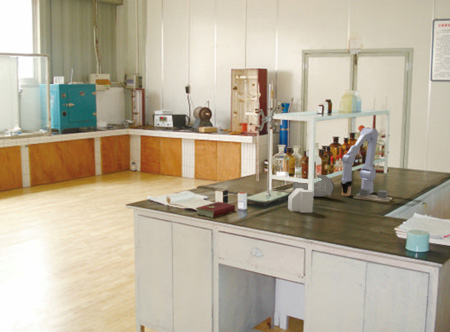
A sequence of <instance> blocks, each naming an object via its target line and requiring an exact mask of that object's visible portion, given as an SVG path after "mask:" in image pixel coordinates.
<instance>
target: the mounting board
mask: <svg viewBox="0 0 450 332" xmlns="http://www.w3.org/2000/svg"><path fill="white" fill-rule="evenodd" d="M371 195H372V196H376V195H375V194H371ZM387 197H388V198H390V199H389V200H386V199H378V198H370V197H362V196H356V195H354V196H353V197H352V198H353V199H356V200H365V201H371V202H380V203H386V202H387V203H386V204H388V203H389V202H390V200H391V201H392V200H393V199H394V197H390V196H387Z"/></svg>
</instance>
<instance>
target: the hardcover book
mask: <svg viewBox="0 0 450 332" xmlns="http://www.w3.org/2000/svg"><path fill="white" fill-rule="evenodd" d="M195 209H196V214H197V215H199V214H200V216H204V215H205V216H206V217H209V216H210V217H209V218H216V217H219V216H223V215H225V214H229V213H232V212H235V211H236V204H234V203H228V202H224V201H222V202H221V201H216V202H212V203H208V204H205V205H202V206H198V207H195ZM205 216H204V217H205Z"/></svg>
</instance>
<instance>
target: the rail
mask: <svg viewBox="0 0 450 332" xmlns="http://www.w3.org/2000/svg"><path fill="white" fill-rule="evenodd" d="M372 195H373V194H369V195H368V196H362V195H360V193H357V194H356V195H355V196H362V197H370V198H378V197H377V195H375V196H372ZM388 197H389V196H387V197H386V198H378V199H386V200H389V199H390V198H388Z"/></svg>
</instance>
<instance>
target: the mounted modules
mask: <svg viewBox="0 0 450 332" xmlns="http://www.w3.org/2000/svg"><path fill="white" fill-rule="evenodd" d="M359 194H360V195H362V196H368V195H370V194H369V189H366V188H361V187H360V188H359ZM376 196H377V197H378V198H386V197H388V190H380V189H379V190H377V194H376Z"/></svg>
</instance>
